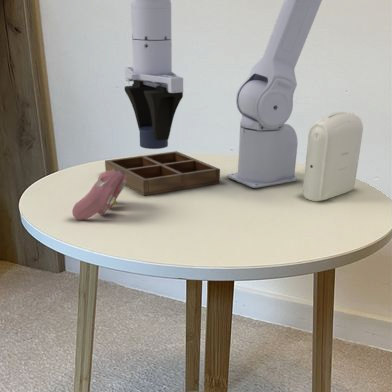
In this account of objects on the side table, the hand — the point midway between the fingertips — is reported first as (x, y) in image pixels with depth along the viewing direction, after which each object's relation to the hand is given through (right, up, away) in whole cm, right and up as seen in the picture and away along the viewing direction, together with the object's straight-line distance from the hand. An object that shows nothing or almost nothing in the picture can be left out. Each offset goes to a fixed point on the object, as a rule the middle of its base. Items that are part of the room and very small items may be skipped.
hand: (154, 136), depth 94 cm
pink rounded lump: (-7, -13, -6) cm, 16 cm away
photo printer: (+28, -9, +3) cm, 29 cm away
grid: (+1, -4, +9) cm, 10 cm away
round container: (0, -1, +1) cm, 1 cm away
